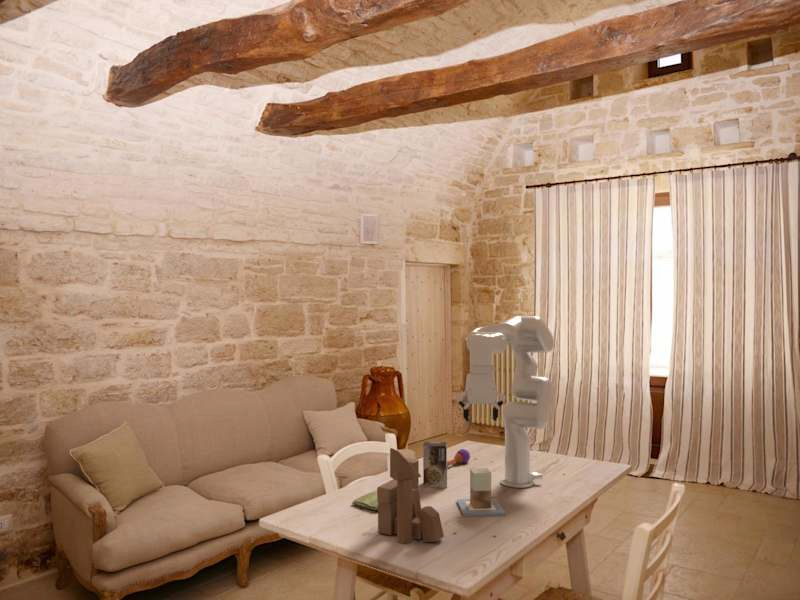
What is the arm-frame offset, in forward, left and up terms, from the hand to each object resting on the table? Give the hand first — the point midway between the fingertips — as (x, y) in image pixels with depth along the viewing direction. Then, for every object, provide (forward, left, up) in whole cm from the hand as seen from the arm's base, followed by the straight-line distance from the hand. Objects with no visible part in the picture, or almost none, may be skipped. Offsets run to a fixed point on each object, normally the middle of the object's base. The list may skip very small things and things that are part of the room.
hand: (480, 420), depth 218 cm
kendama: (+1, -53, -31) cm, 61 cm away
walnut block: (0, 0, -29) cm, 29 cm away
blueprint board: (0, 0, -30) cm, 30 cm away
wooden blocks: (+24, +20, -31) cm, 44 cm away
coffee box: (+12, -27, -31) cm, 42 cm away
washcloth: (+34, -9, -31) cm, 47 cm away
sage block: (0, 0, -23) cm, 23 cm away
